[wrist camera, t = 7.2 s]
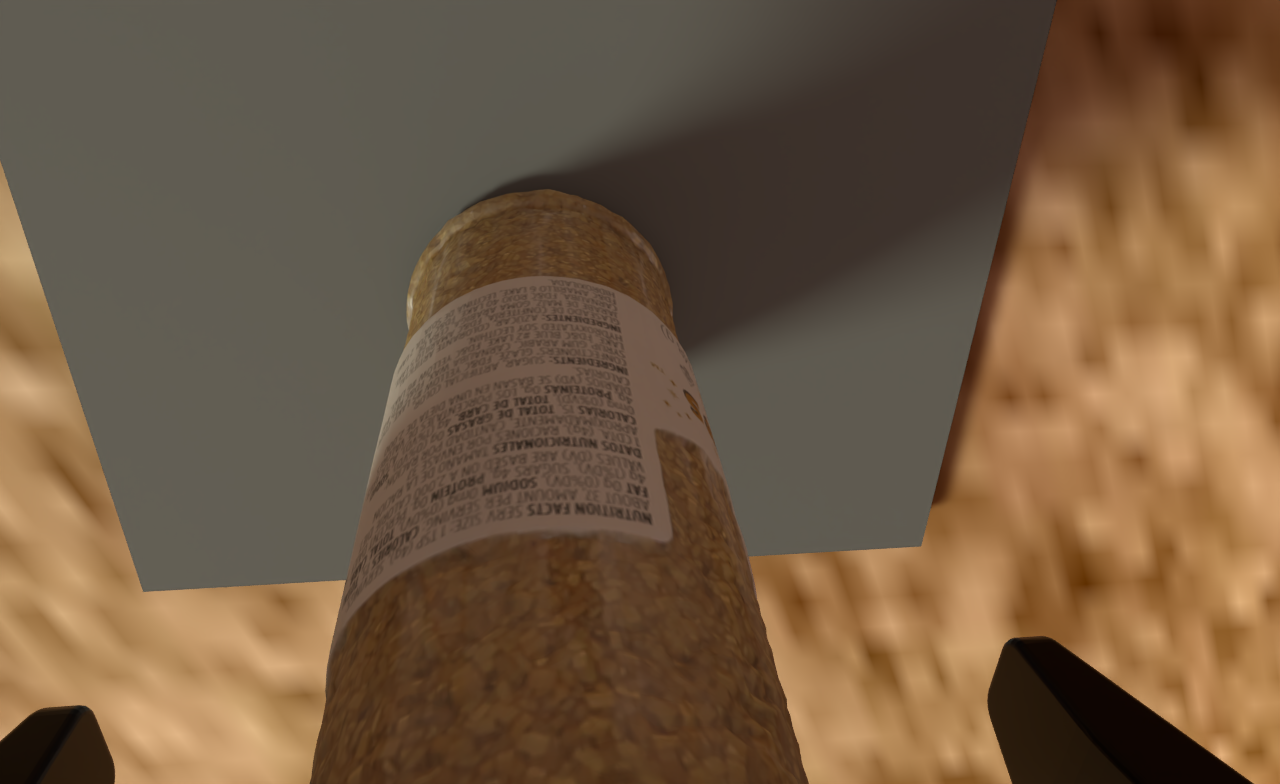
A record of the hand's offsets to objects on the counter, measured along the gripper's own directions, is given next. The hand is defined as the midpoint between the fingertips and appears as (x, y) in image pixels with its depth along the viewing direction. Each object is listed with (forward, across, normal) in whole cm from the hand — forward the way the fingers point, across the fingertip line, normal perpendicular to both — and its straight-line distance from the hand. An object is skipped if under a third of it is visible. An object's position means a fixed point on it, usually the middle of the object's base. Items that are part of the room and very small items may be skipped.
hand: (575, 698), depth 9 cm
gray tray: (+10, 0, 0) cm, 10 cm away
